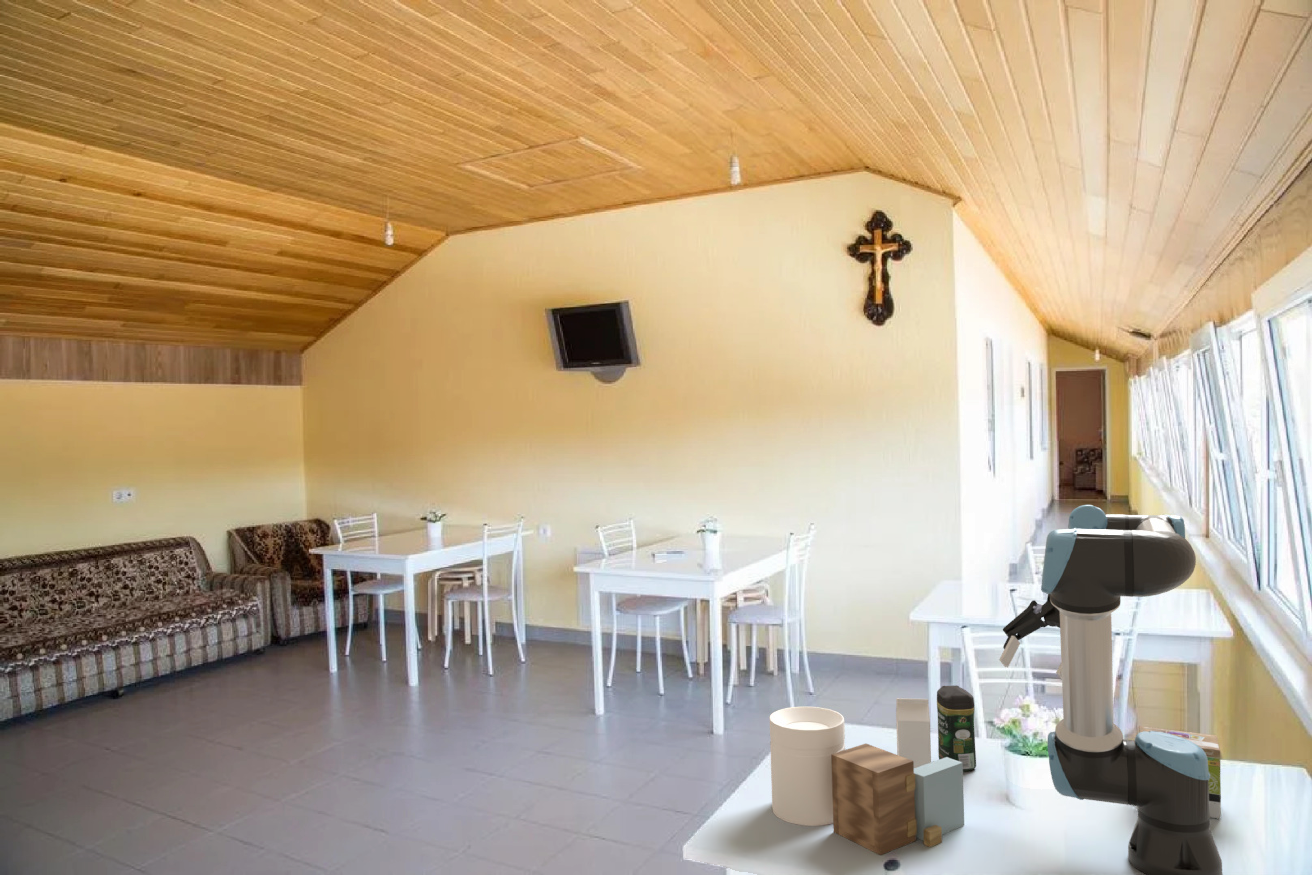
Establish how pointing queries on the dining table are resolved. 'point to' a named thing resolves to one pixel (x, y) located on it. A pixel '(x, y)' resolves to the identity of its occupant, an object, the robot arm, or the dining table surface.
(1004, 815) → the dining table surface
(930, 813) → the door
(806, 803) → the canister
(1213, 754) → the tea box
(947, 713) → the coffee jar
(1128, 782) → the robot arm
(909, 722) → the milk carton
